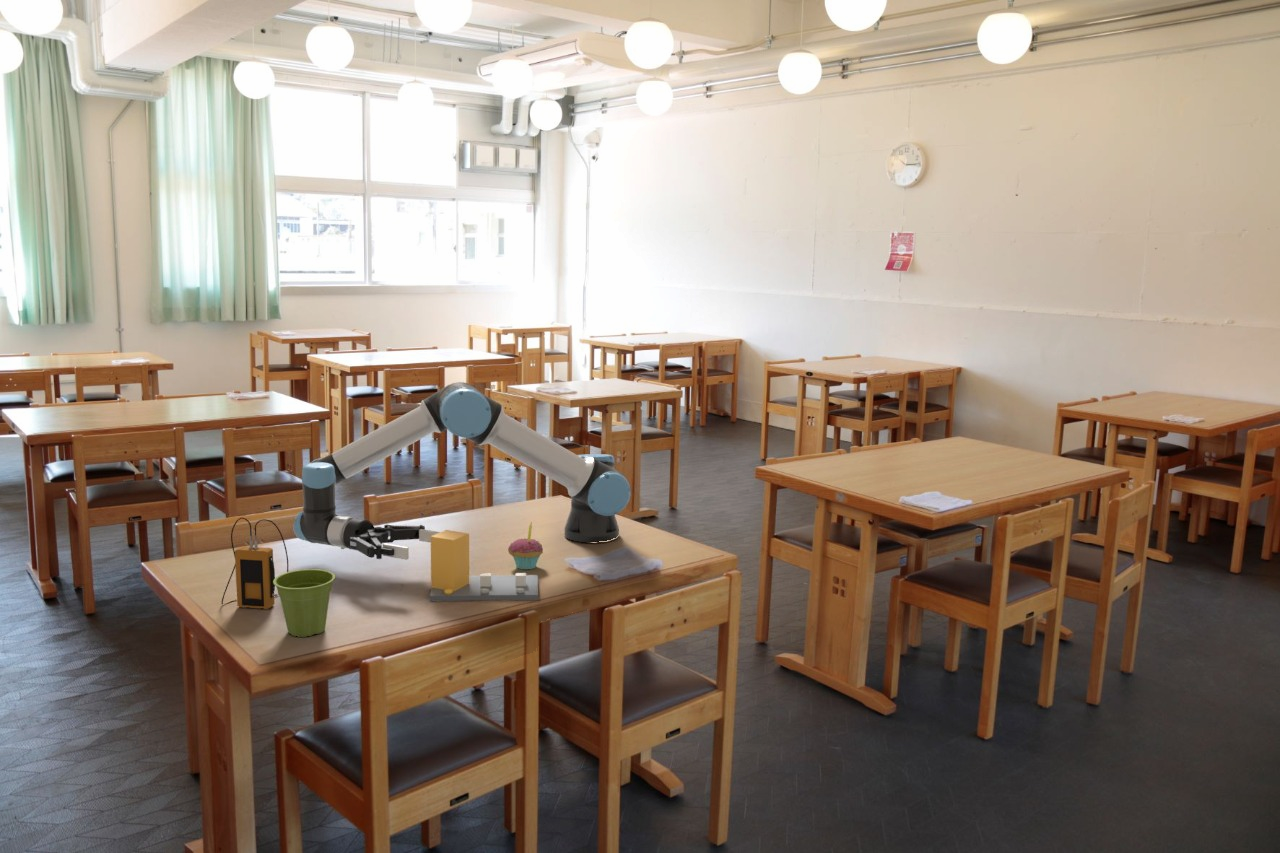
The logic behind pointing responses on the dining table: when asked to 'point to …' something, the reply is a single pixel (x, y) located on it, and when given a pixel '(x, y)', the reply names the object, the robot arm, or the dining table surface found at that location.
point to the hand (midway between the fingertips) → (425, 545)
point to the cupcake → (526, 551)
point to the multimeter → (254, 573)
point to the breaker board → (492, 588)
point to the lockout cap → (450, 560)
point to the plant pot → (305, 600)
